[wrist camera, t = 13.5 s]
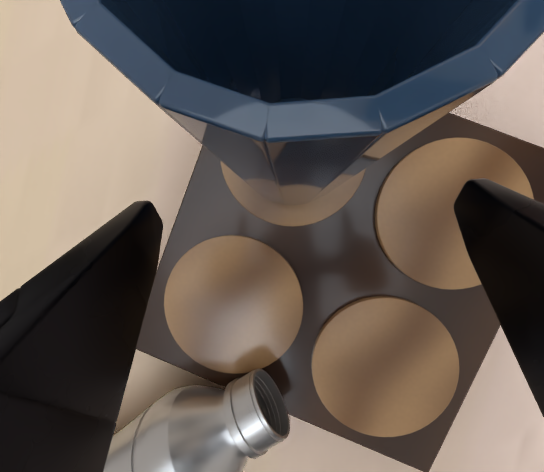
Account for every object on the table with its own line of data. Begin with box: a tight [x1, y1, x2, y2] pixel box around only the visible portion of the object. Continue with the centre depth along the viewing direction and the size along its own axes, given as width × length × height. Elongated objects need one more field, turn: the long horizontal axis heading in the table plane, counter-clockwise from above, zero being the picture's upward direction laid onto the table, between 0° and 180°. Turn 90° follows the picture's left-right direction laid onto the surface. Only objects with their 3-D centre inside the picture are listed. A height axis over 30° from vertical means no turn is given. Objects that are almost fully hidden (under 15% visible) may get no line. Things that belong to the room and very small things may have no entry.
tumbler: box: [60, 0, 544, 205], centre depth 9 cm, size 6×6×12 cm
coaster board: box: [136, 113, 544, 472], centre depth 16 cm, size 20×20×2 cm
